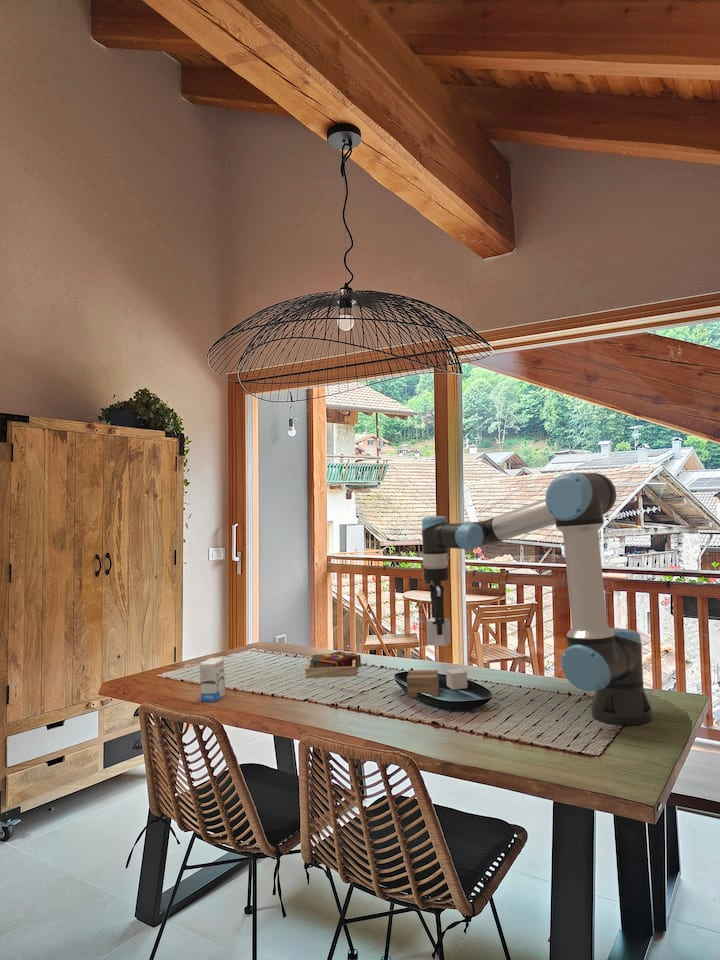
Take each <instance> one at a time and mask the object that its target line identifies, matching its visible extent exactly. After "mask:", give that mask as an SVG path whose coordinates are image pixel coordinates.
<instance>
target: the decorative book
mask: <svg viewBox="0 0 720 960" xmlns="http://www.w3.org/2000/svg"><path fill="white" fill-rule="evenodd" d="M350 653H351V652H346V651H341V650H339V651H335V652H332V653H329V654H330V655H323V657H320V658H315V659H311V662H313V667H312V668H325V667H348V666H352V662H353V660H355V659H356V668H358V667H360V666H362V662H361V659H362V658H361V657H362V656H361V654H357V653H356V654H350Z"/></svg>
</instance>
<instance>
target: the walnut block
mask: <svg viewBox="0 0 720 960" xmlns="http://www.w3.org/2000/svg"><path fill="white" fill-rule="evenodd" d="M439 680H440V679H439V670H438V669H409V671H408V674H407V676H406V688H407V693H406V694H407V698H418V697H417V693H418V692H419V693H425V694H429V695H432V696H435V697H434V698H438V695H439V690H440V687H439V686H440V683H439V682H440V681H439Z"/></svg>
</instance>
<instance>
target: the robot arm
mask: <svg viewBox="0 0 720 960" xmlns="http://www.w3.org/2000/svg"><path fill="white" fill-rule="evenodd" d="M616 500H617V490H616V487H615V484H614V483H613V481H612V480H611V479H610V478H608V476H605V475H603V474H601V473H597V472H571V473H564V474H561V475H559V476H558V477H556V478H554V479H553V480H552V481H551V482H550V484H549V485H548V487H547V490H546V492H545V499H542V500H539V501H536V502H534V503H531V504H528V505H525V506H522V507H520V508H517V509H513V510H511V511H508V512H506V513H503V514H499V515H497V516H495V517H491V518H488V519H485V520H480V521H470V522H456V523H450V522H448V521H447V517H446V516H443V515H441V516H440V515H439V516H437V515H436V516H425V517H423V518H422V523H421V536H422V539H421V540H422V565H423V567H424V568H423V581H425V582H431V583H430V585H429V592H430V593H429V594H430V595H429V596H430V604H431V605H430V606H431V607H430V608H431V609H430V611H431V612H430V615H431V618H435V622H433V624H434V625H435V646H434V647H446V646H445V644H444V622H445V620H444V618H445V610H444V598H445V597H444V591H445V589H444V586H443V585H442V582H445V581H448V580H449V578H450V577H449V568H448V567H447V566H448V565H449V559H450V555H448V549H461V550H467V551H468V550H476V549H478V548H479V547H483V546H484V547H485V546H494V545H497V544H500V543H502V542H503V541H506V540H508V539H512V538H515V537H518V536H522V535H524V534H528V533H531V532H534V531H537V530H540V529H541V530H542V529H543V528H546V527H550V526H553V525H555V527H556V529H557V530H558V531H560V532H561V534H562V536H563V545H564V546H563V549H564V557H565V567H566V569H565V570H566V577H567V579H566V580H567V588H568V589H567V590H568V599H569V609H570V619H571V628H570V629H569V630H568V632H567V633H566V642H567V648H566V649H565V650H564V652H563V653H562V655H561V660H560V667H561V670H562V673H563V674H564V676H565V678H566V679H567V681H569V682H570V683H571V684H572V686H573V687H575V688H577V689H579V690H582V691H585V692H594V694H593V699H592V702H591V704H590V705H591V706H590V709H591V710H590V711H591V714H590V715H591V716H592V718H594V719H596V720H598V721H601V722H604V723H608V724H612V725H621V726H622V725H623V726H633V725H642V724H643V725H644V724H647V723H649V722H651V721H652V720H653V710H652V707H651V704H650V701H649V698H648V696H647V693H646V691H645V688H644V673H643V654H642V653H643V652H642V651H643V649H642V648H643V647H642V646H643V643H642V641H641V634H640V633H639V632H638V631H637V630H635V629H627V628H618V627H609V625H608V617H607V608H606V607H607V606H606V600H605V599H606V598H605V596H606V595H605V587H604V586H605V585H604V579H603V578H604V577H603V567H602V566H603V565H602V557H601V547H600V539H599V538H600V537H599V530H600V529H601V528H602V527H603V526H604V515H606V514H608V513H609V512H610V510H612V508H613V507H614V505H615V503H616Z"/></svg>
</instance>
